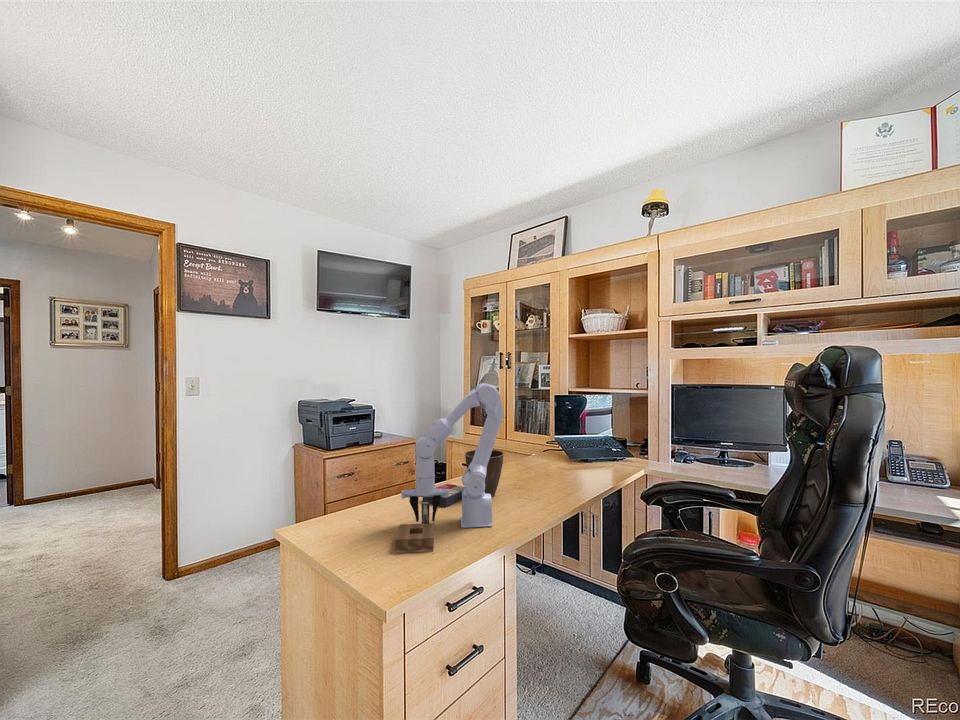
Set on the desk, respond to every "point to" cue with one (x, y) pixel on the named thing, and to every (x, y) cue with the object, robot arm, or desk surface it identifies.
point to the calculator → (454, 495)
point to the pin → (425, 512)
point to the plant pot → (489, 469)
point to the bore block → (415, 538)
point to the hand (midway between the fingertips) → (425, 520)
